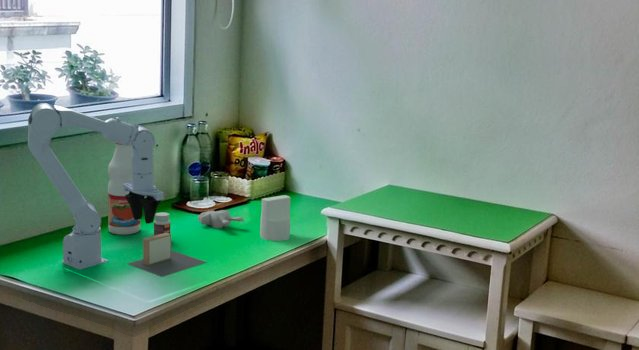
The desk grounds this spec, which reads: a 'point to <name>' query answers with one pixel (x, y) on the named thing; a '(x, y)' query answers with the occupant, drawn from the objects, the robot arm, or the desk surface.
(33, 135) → the robot arm
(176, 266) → the mat
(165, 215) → the pill bottle
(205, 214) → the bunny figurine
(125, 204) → the fruit juice
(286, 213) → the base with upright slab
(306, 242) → the desk surface
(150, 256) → the block
